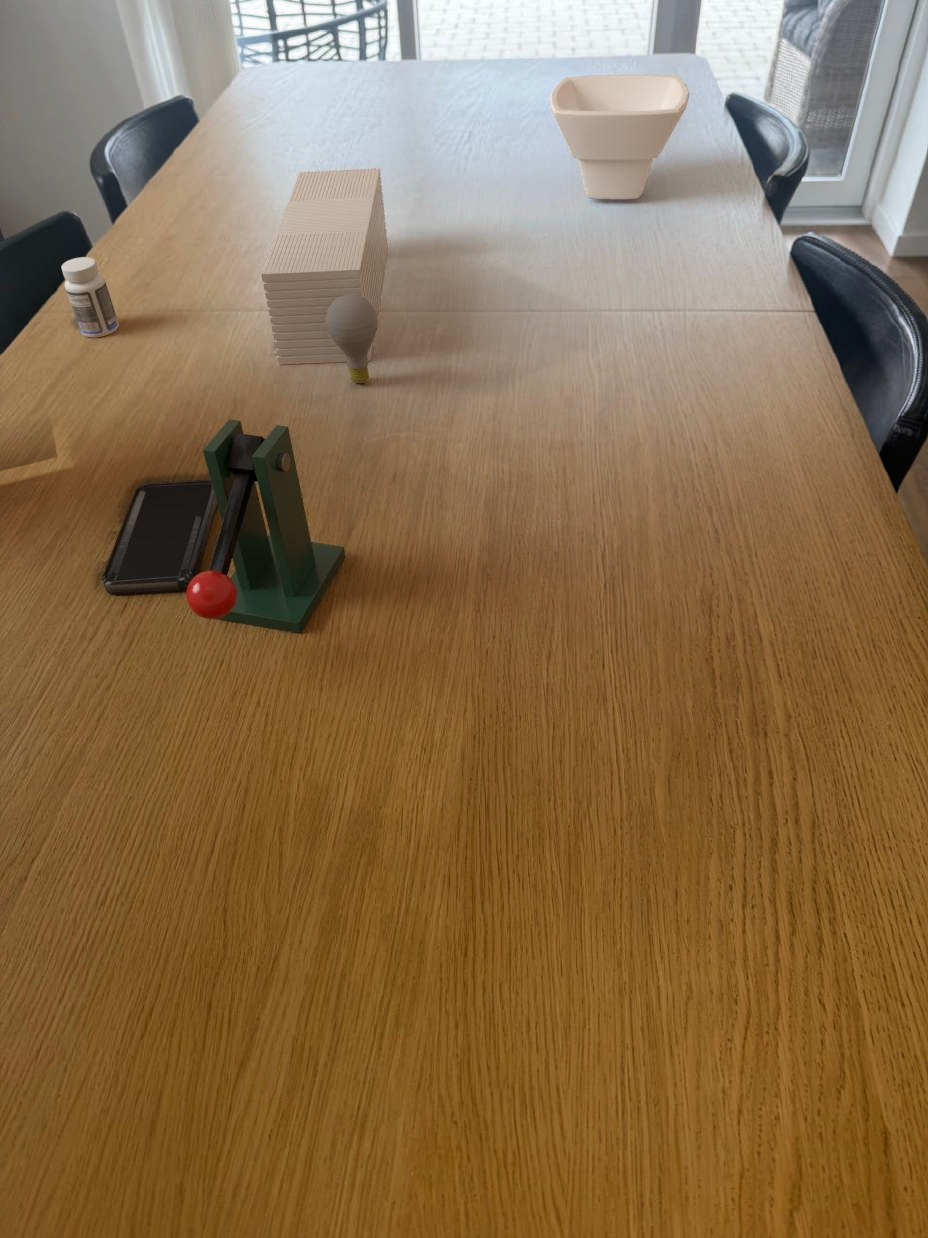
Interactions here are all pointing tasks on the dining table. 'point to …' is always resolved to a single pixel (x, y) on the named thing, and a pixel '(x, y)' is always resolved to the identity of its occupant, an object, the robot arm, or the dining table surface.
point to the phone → (161, 538)
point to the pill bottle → (89, 297)
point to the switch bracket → (272, 536)
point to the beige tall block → (324, 259)
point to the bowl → (617, 127)
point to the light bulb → (353, 332)
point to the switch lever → (226, 536)
